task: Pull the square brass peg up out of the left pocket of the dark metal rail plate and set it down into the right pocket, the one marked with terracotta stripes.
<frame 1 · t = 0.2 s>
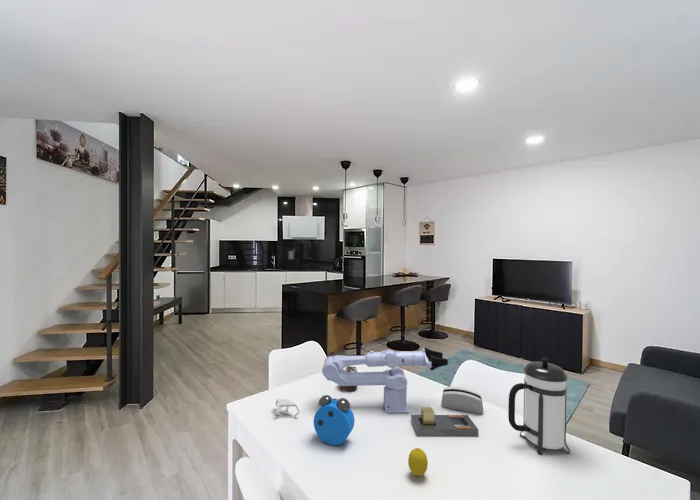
hand: (444, 358, 133), 21 cm above the table, tool horizontal, fingers open, 7 cm apart
coffee press: (540, 445, 110), on the table
alarm clock: (333, 441, 110), on the table
rail plate: (443, 428, 119), on the table
lemon: (417, 476, 94), on the table
miniature table: (286, 415, 127), on the table
grey rounded block: (461, 409, 134), on the table
brass peg: (427, 428, 119), resting in rail plate
cupcake: (348, 388, 152), on the table
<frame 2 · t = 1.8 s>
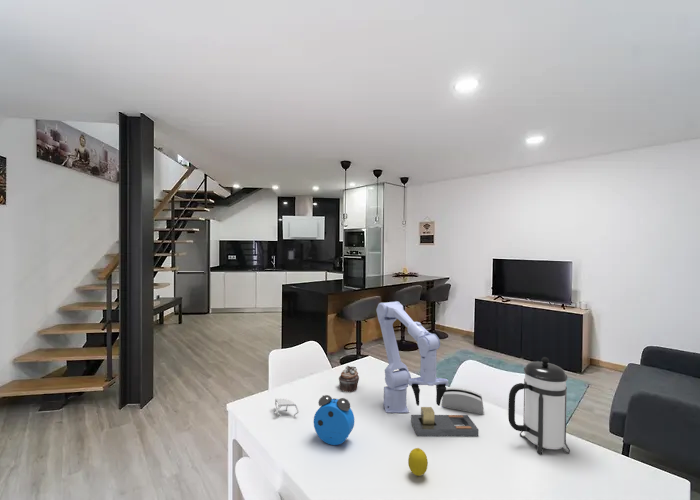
hand: (427, 404, 119), 9 cm above the table, tool pointing down, fingers open, 7 cm apart
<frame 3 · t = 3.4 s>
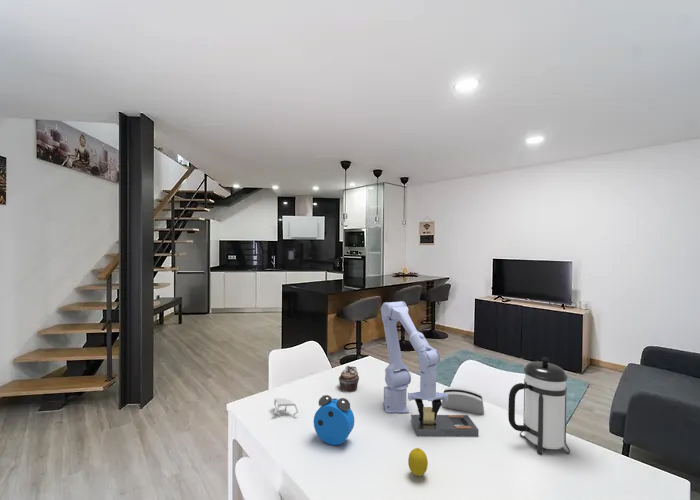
hand: (427, 419, 119), 3 cm above the table, tool pointing down, fingers closed on brass peg, 4 cm apart
brass peg: (427, 428, 119), resting in rail plate, touching gripper
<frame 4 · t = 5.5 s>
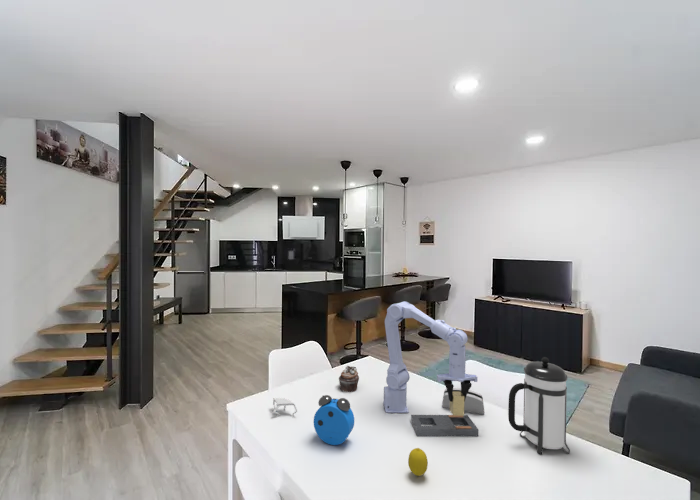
hand: (456, 400, 119), 10 cm above the table, tool pointing down, fingers closed on brass peg, 4 cm apart
brass peg: (456, 412, 119), point 6 cm above the table, touching gripper
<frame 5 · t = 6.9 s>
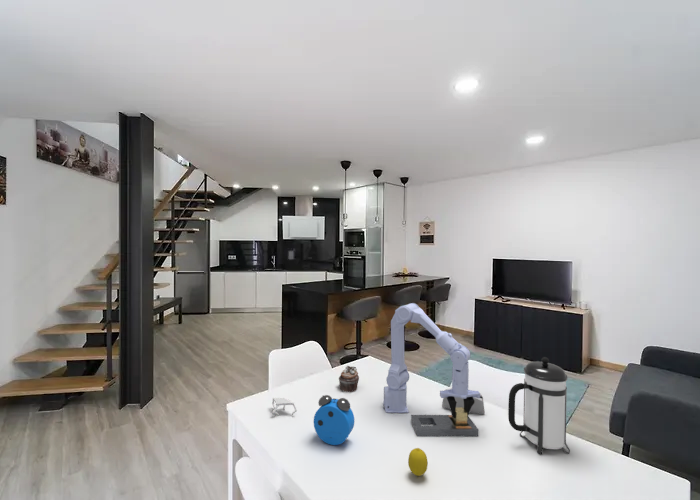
hand: (459, 416, 119), 4 cm above the table, tool pointing down, fingers closed on brass peg, 4 cm apart
brass peg: (459, 429, 119), resting in rail plate, touching gripper
when the fingers open (4 cm above the table, at t = 7.6 s): brass peg stays where it is, resting in rail plate.
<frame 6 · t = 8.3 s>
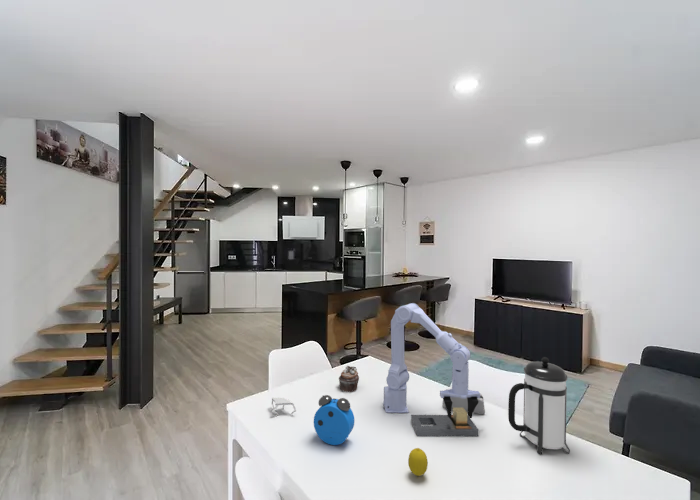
hand: (459, 416, 119), 4 cm above the table, tool pointing down, fingers open, 7 cm apart
brass peg: (459, 429, 119), resting in rail plate
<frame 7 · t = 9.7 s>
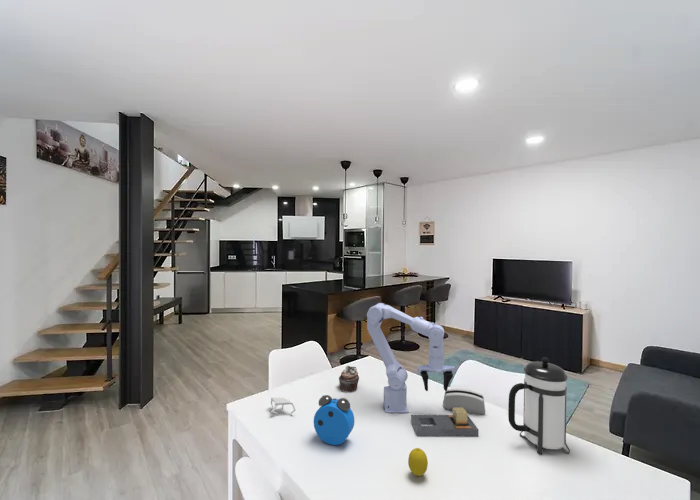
hand: (435, 390, 128), 10 cm above the table, tool pointing down, fingers open, 7 cm apart
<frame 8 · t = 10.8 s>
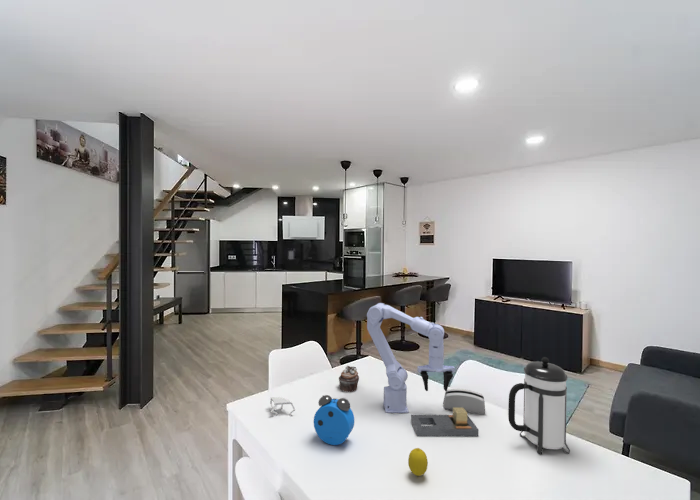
hand: (435, 390, 128), 10 cm above the table, tool pointing down, fingers open, 7 cm apart
at the end: brass peg 0.2 cm from the target spot on the rail plate, point 0.0 cm above the rail plate's base; brass peg tilted 0°; the gripper is holding nothing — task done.
